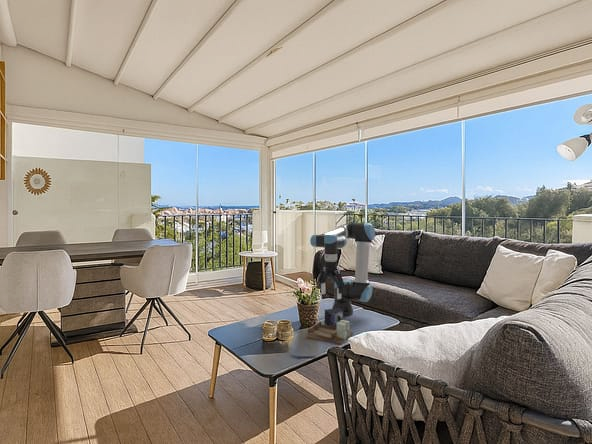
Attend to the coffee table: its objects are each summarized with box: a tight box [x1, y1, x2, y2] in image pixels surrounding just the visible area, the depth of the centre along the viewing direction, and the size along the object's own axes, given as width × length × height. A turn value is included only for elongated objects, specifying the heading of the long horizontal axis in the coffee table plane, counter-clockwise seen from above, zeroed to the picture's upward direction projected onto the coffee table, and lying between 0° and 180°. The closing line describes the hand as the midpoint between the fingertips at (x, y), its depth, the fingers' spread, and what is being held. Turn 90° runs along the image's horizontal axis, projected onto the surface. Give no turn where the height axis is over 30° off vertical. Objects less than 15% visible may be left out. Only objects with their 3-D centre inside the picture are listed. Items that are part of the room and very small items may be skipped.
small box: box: [323, 308, 344, 327], centre depth 229 cm, size 11×6×10 cm, turn 112°
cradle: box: [306, 319, 354, 345], centre depth 213 cm, size 18×22×10 cm
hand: (331, 296), depth 212 cm, fingers open, 13 cm apart
